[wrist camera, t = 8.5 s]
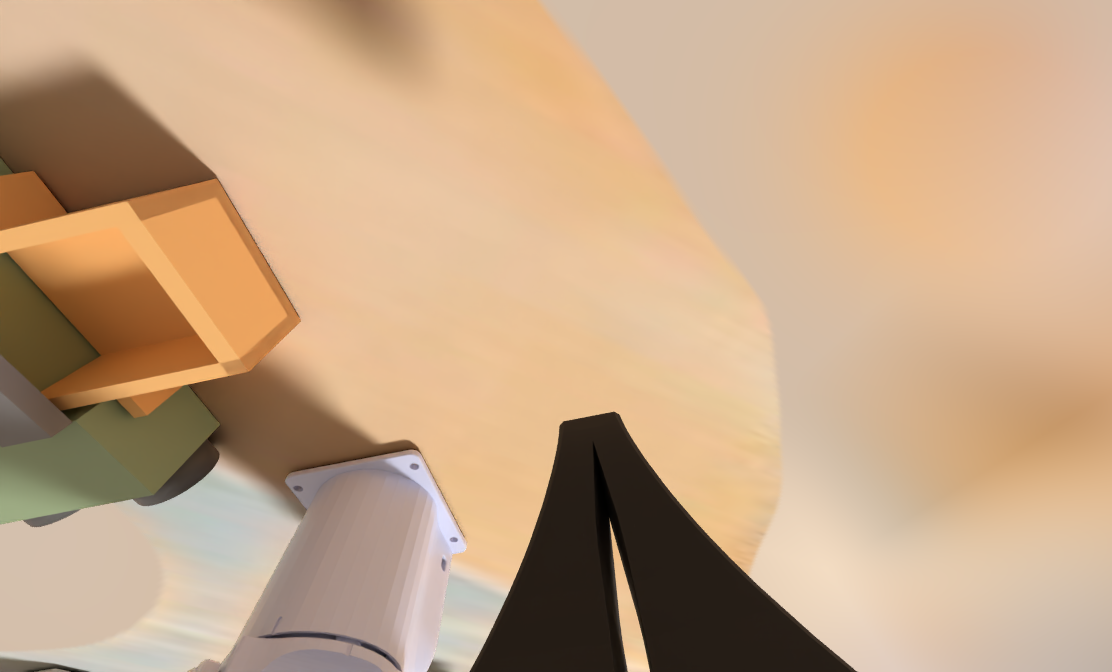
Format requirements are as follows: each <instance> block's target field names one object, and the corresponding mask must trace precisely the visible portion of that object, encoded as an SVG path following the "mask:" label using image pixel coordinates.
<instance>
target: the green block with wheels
mask: <svg viewBox="0 0 1112 672" xmlns="http://www.w3.org/2000/svg"><path fill="white" fill-rule="evenodd" d="M9 174H13V172H12V171H11V170H10V169H9V168H8V166H7V165H6V164H5V163H4V161H3V160H2V159H1V158H0V176H3V175H9ZM99 356H101V355H100V354H99V353H98V351H97V350H96V349H95V348H94V347H93V346H92V345H91V344H90V343H89V342H88V341H87V339H86V338H85V337H84V336H83V335H82V334H81V333H80V332H79V331H78V330H77V329H76V327H75V326H74V325H73V324H72V323H71V322H70V321H69V320H68V319H67V318H66V317H65V315H64V314H63V313H62V312H61V311H60V310H59V309H58V308H57V307H56V306H55V305H54V303H53V302H52V301H51V300H50V299H49V298H48V297H47V296H46V295H45V294H44V293H43V291H42V290H41V289H40V288H39V287H38V286H37V285H36V284H35V283H34V282H33V281H32V279H31V278H30V277H29V276H28V275H27V274H26V273H25V272H24V271H23V270H22V269H21V267H20V266H19V265H18V264H17V263H16V262H15V261H14V260H13V259H12V258H11V257H10V255H9V254H8V253H7V252H4V253H0V524H5V523H10V522H15V521H21V520H23V521H24V522H26V523H27V524H29V525H30V526H32V527H41V526H45V525H48V524H52V523H54V522H57V521H59V520H61V519H63V518H66V517H68V516H70V515H72V514H73V513H75V512H77V511H79V510H80V509H83V508H88V507H93V506H99V505H104V504H109V503H114V502H119V501H125V500H130V499H133V500H134V501H135V502H137V503H138V504H139V505H141V506H151V505H155V504H159V503H162V502H164V501H167V500H169V499H171V498H174V497H176V496H178V495H179V494H181V493H183V492H185V491H186V490H188V489H189V488H191V487H192V486H194V485H195V484H196V483H198V482H199V481H200V480H202V479H203V478H204V477H205V476H206V475H207V474H208V473H209V472H210V471H211V470H212V469H213V468H214V466H215V465H216V463H217V462H218V460H219V452H218V451H217V450H216V448H215V447H214V446H213V445H212V444H211V443H210V441H209V440H208V439H207V438H208V437H209V436H210V435H211V434H212V433H213V432H214V431H215V430H216V429H217V428H218V427H219V426H220V423H219V422H218V421H217V420H216V419H215V417H214V416H213V415H212V414H211V413H210V411H209V410H208V409H207V408H206V407H205V405H204V404H203V403H202V402H201V400H200V399H199V398H198V397H197V396H196V394H195V393H194V392H193V391H192V390H191V388H190V387H189V386H188V385H183V386H182V387H181V388H180V389H179V390H177V391H176V392H175V393H174V394H173V395H171V396H170V397H169V398H168V399H167V400H165V401H164V402H163V403H162V404H160V405H159V406H158V407H157V408H156V409H154V410H153V411H152V412H151V413H150V414H148V415H147V416H142V417H137V418H134V417H133V416H132V415H131V414H130V413H129V412H128V411H127V410H126V409H125V408H124V407H123V406H122V405H121V404H120V403H119V402H118V401H117V400H116V399H115V400H110V401H105V402H101V403H96V404H91V405H86V406H81V407H76V408H71V409H67V410H62V411H60V410H59V409H58V408H57V407H56V406H55V405H54V404H53V403H52V402H50V401H49V400H48V399H47V398H46V397H45V396H44V395H43V394H42V393H41V391H43V390H44V389H46V388H48V387H49V386H51V385H53V384H54V383H56V382H58V381H59V380H61V379H63V378H64V377H66V376H68V375H69V374H71V373H73V372H74V371H76V370H78V369H79V368H81V367H83V366H84V365H86V364H88V363H89V362H91V361H93V360H94V359H96V358H98V357H99Z"/></svg>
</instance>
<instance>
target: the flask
mask: <svg viewBox="0 0 1112 672" xmlns="http://www.w3.org/2000/svg"><path fill="white" fill-rule="evenodd" d="M36 672H69V671H65V670H60V669H56V668H55V669H49V670H42V671H36Z"/></svg>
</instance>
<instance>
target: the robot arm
mask: <svg viewBox="0 0 1112 672" xmlns="http://www.w3.org/2000/svg"><path fill="white" fill-rule="evenodd" d="M413 463H415V464H418V465H415V464H413ZM285 483H286V484H287V486H288V487H289V488H290V490H291V491H292V492H293V493H294V495H295V496H296V497H297V498H298V500H299V501H300V502H301V503H302V505H303V506H304V507H305V508H306V510H307V512H306V513H305V515H304V517H303V519H302V521H301V523H300V525H299V526H298V528H297V530H296V532H295V534H294V536H293V538H292V539H291V541H290V543H289V545H288V547H287V549H286V551H285V552H284V554H283V556H282V558H281V560H280V562H279V563H278V565H277V567H276V569H275V571H274V573H273V575H272V576H271V578H270V580H269V582H268V584H267V586H266V588H265V589H264V591H263V593H262V595H261V597H260V599H259V600H258V602H257V604H256V606H255V608H254V610H253V612H252V613H251V615H250V617H249V619H248V621H247V623H246V625H245V626H244V628H243V630H242V632H241V634H240V636H239V637H238V639H237V641H236V643H235V645H234V647H233V649H232V650H231V652H230V653H229V654H228V655H227V657H226V658H225V659H224V661H223V662H222V663H221V664H220V662H216V661H213V660H210V659H208V660H204V661H203V662H201V663H200V664H199V666H198V667H197V668H193V669H191V670H189V671H187V672H427V670H428V668H429V666H430V664H431V662H432V660H433V657H434V654H435V651H436V647H437V642H438V636H439V630H440V624H441V618H442V613H443V607H444V601H445V595H446V589H447V583H448V577H449V571H450V565H451V560H452V554H456V553H461V552H464V551H465V550H466V547H467V542H466V540H465V538H464V536H463V535H462V533H461V531H460V529H459V527H458V525H457V523H456V521H455V519H454V517H453V515H452V513H451V511H450V509H449V508H448V506H447V504H446V502H445V500H444V498H443V496H442V494H441V492H440V490H439V488H438V486H437V484H436V482H435V481H434V479H433V477H432V475H431V473H430V471H429V469H428V467H427V465H426V463H425V461H424V459H423V457H422V455H421V454H420V453H419V452H418V451H416V450H406V451H401V452H395V453H390V454H385V455H380V456H374V457H369V458H364V459H359V460H354V461H348V462H343V463H338V464H333V465H328V466H322V467H317V468H312V469H307V470H301V471H296V472H292V473H289V474H288V476H287V477H286V479H285ZM609 518H610V520H609ZM610 522H611V525H612V529H613V532H614V536H615V539H616V543H617V546H618V550H619V553H620V557H621V560H622V564H623V567H624V571H625V574H626V578H627V581H628V585H629V588H630V592H631V595H632V599H633V602H634V606H635V609H636V613H637V616H638V620H639V624H640V628H641V632H642V636H643V640H644V645H645V649H646V654H647V659H648V664H649V669H650V672H857V671H855V670H854V669H853V668H852V667H851V666H849V665H848V664H847V663H846V662H845V661H844V660H842V659H841V658H840V657H839V656H838V655H836V654H835V653H834V652H833V651H832V650H830V649H829V648H828V647H827V646H826V645H824V644H823V643H822V642H821V641H820V640H818V639H817V638H816V637H815V636H814V635H813V634H811V633H810V632H809V631H808V630H807V629H806V628H805V627H804V626H802V625H801V624H800V623H799V622H798V621H797V620H796V619H795V618H794V617H793V616H791V615H790V614H789V613H788V612H787V611H786V610H785V609H784V608H782V607H781V606H780V605H779V604H778V603H777V602H776V601H775V600H774V599H772V598H771V597H770V596H769V595H768V594H767V593H766V592H765V591H764V590H763V589H761V588H760V587H759V586H758V585H757V584H756V583H755V582H754V581H753V580H752V579H751V578H750V577H749V576H748V575H747V574H746V573H745V572H744V571H743V570H742V569H741V568H740V567H739V566H738V565H737V564H736V563H735V562H734V561H732V560H731V559H730V558H729V557H728V555H727V554H726V553H725V552H724V551H723V550H722V549H721V548H720V547H719V546H718V545H717V544H716V543H715V542H714V541H713V540H712V539H711V538H710V537H709V536H708V535H707V534H706V532H705V531H704V530H703V529H702V528H701V527H700V526H699V525H698V524H697V523H696V521H695V520H694V519H693V518H692V517H691V516H690V515H689V513H688V512H687V511H686V510H685V509H684V508H683V506H682V505H681V504H680V503H679V502H678V501H677V499H676V498H675V497H674V496H673V495H672V493H671V492H670V491H669V490H668V488H667V487H666V486H665V485H664V483H663V482H662V481H661V479H660V478H659V477H658V475H657V474H656V473H655V471H654V470H653V469H652V467H651V466H650V465H649V463H648V462H647V461H646V459H645V458H644V456H643V455H642V453H641V452H640V450H639V449H638V447H637V446H636V444H635V443H634V441H633V440H632V438H631V436H630V435H629V433H628V431H627V429H626V428H625V426H624V424H623V422H622V420H621V417H620V415H619V414H617V413H616V412H611V413H605V414H600V415H595V416H590V417H584V418H579V419H574V420H569V421H564V422H563V423H562V424H561V425H560V429H559V438H558V445H557V451H556V456H555V460H554V465H553V469H552V473H551V477H550V480H549V484H548V488H547V491H546V495H545V498H544V502H543V505H542V508H541V511H540V514H539V517H538V520H537V523H536V526H535V529H534V531H533V534H532V537H531V540H530V543H529V545H528V548H527V551H526V553H525V556H524V558H523V561H522V563H521V566H520V568H519V571H518V573H517V575H516V578H515V580H514V582H513V585H512V587H511V589H510V592H509V594H508V596H507V598H506V600H505V602H504V605H503V607H502V609H501V611H500V613H499V615H498V617H497V619H496V621H495V624H494V626H493V628H492V630H491V632H490V634H489V636H488V638H487V640H486V642H485V644H484V646H483V648H482V650H481V652H480V654H479V656H478V657H477V659H476V661H475V663H474V665H473V667H472V668H471V670H470V672H628V671H627V665H626V659H625V654H624V648H623V642H622V635H621V627H620V620H619V610H618V600H617V590H616V580H615V570H614V560H613V550H612V540H611V530H610Z"/></svg>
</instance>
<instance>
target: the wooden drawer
mask: <svg viewBox="0 0 1112 672" xmlns="http://www.w3.org/2000/svg"><path fill="white" fill-rule="evenodd" d="M4 252H7V253H8V254H9V255H10V257H11V258H12V259H13V260H14V261H15V262H16V263H17V264H18V265H19V266H20V267H21V269H22V270H23V271H24V272H25V273H26V274H27V275H28V276H29V277H30V278H31V279H32V281H33V282H34V283H35V284H36V285H37V286H38V287H39V288H40V289H41V290H42V291H43V293H44V294H45V295H46V296H47V297H48V298H49V299H50V300H51V301H52V302H53V303H54V305H55V306H56V307H57V308H58V309H59V310H60V311H61V312H62V313H63V314H64V315H65V317H66V318H67V319H68V320H69V321H70V322H71V323H72V324H73V325H74V326H75V327H76V329H77V330H78V331H79V332H80V333H81V334H82V335H83V336H84V337H85V338H86V339H87V341H88V342H89V343H90V344H91V345H92V346H93V347H94V348H95V349H96V350H97V351H98V353H99V354H100V355H101V356H99V357H98V358H96V359H94V360H93V361H91V362H89V363H88V364H86V365H84V366H83V367H81V368H79V369H78V370H76V371H74V372H73V373H71V374H69V375H68V376H66V377H64V378H63V379H61V380H59V381H58V382H56V383H54V384H53V385H51V386H49V387H48V388H46V389H44V390H43V391H41V393H42V394H43V395H44V396H45V397H46V398H47V399H48V400H49V401H50V402H52V403H53V404H54V405H55V406H56V407H57V408H58V409H59V410H60V411H62V410H67V409H71V408H76V407H81V406H86V405H91V404H96V403H101V402H105V401H110V400H115V399H116V400H117V401H118V402H119V403H120V404H121V405H122V406H123V407H124V408H125V409H126V410H127V411H128V412H129V413H130V414H131V415H132V416H133V417H134V418H137V417H142V416H147V415H148V414H150V413H151V412H152V411H153V410H154V409H156V408H157V407H158V406H159V405H160V404H162V403H163V402H164V401H165V400H167V399H168V398H169V397H170V396H171V395H173V394H174V393H175V392H176V391H177V390H179V389H180V388H181V387H182V386H183V385H188V384H193V383H197V382H202V381H207V380H212V379H217V378H222V377H226V376H231V375H236V374H241V373H246V372H249V371H250V370H251V369H252V368H253V367H254V366H255V365H256V364H257V363H258V362H259V361H261V360H262V359H263V358H264V357H265V356H266V355H267V354H268V353H269V352H270V351H271V350H272V349H273V348H274V347H275V346H276V345H277V344H278V343H279V342H280V341H281V340H282V339H283V338H284V337H285V336H286V335H287V334H288V333H289V332H290V331H291V330H292V329H293V328H294V327H295V326H296V325H298V324H299V323H300V322H301V320H300V318H299V317H298V315H297V313H296V312H295V310H294V308H293V307H292V305H291V303H290V302H289V300H288V298H287V296H286V295H285V293H284V291H283V290H282V288H281V286H280V285H279V283H278V281H277V279H276V278H275V276H274V274H273V273H272V271H271V269H270V268H269V266H268V264H267V263H266V261H265V259H264V257H263V256H262V254H261V252H260V251H259V249H258V247H257V246H256V244H255V242H254V240H253V239H252V237H251V235H250V234H249V232H248V230H247V229H246V227H245V225H244V224H243V222H242V220H241V218H240V217H239V215H238V213H237V212H236V210H235V208H234V207H233V205H232V203H231V202H230V200H229V198H228V196H227V195H226V193H225V191H224V190H223V188H222V186H221V185H220V183H219V181H218V179H217V178H216V179H212V180H208V181H203V182H199V183H195V184H191V185H186V186H182V187H178V188H174V189H169V190H165V191H161V192H156V193H152V194H148V195H144V196H139V197H135V198H131V199H127V200H122V201H118V202H114V203H109V204H105V205H101V206H97V207H92V208H88V209H84V210H79V211H75V212H71V213H67V212H66V211H65V210H64V208H63V207H62V206H61V205H60V203H59V202H58V201H57V200H56V198H55V197H54V196H53V195H52V193H51V192H50V191H49V190H48V188H47V187H46V186H45V185H44V183H43V182H42V181H41V180H40V178H39V177H38V176H37V175H36V173H35V172H34V171H30V172H23V173H16V174H9V175H3V176H0V253H4Z"/></svg>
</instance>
